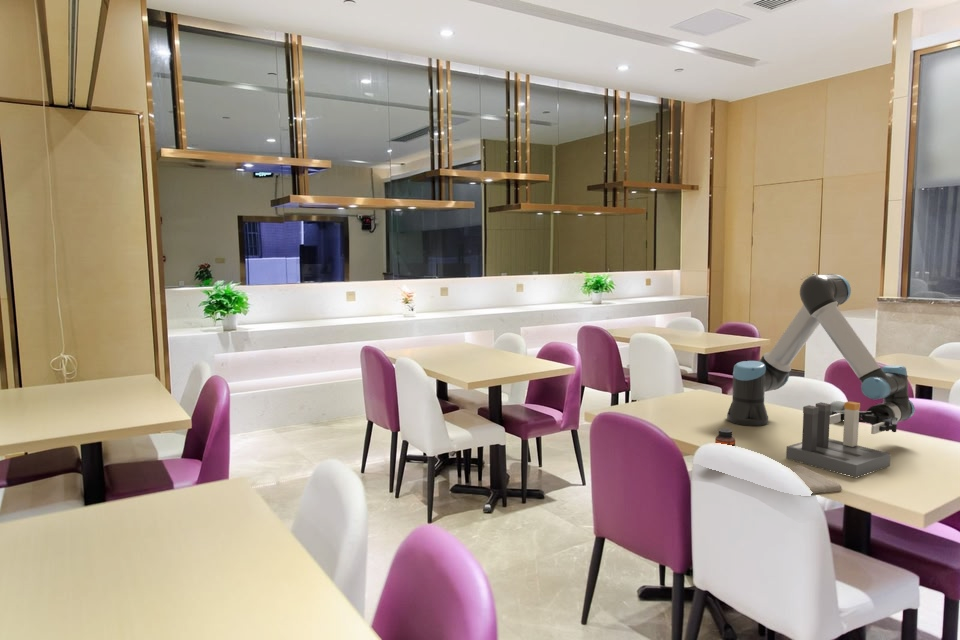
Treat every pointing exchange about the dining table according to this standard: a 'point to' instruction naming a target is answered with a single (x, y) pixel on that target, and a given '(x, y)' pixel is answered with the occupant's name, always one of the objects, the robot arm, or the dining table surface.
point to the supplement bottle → (725, 437)
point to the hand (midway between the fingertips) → (850, 425)
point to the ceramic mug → (837, 406)
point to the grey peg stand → (832, 447)
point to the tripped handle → (851, 423)
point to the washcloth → (815, 480)
